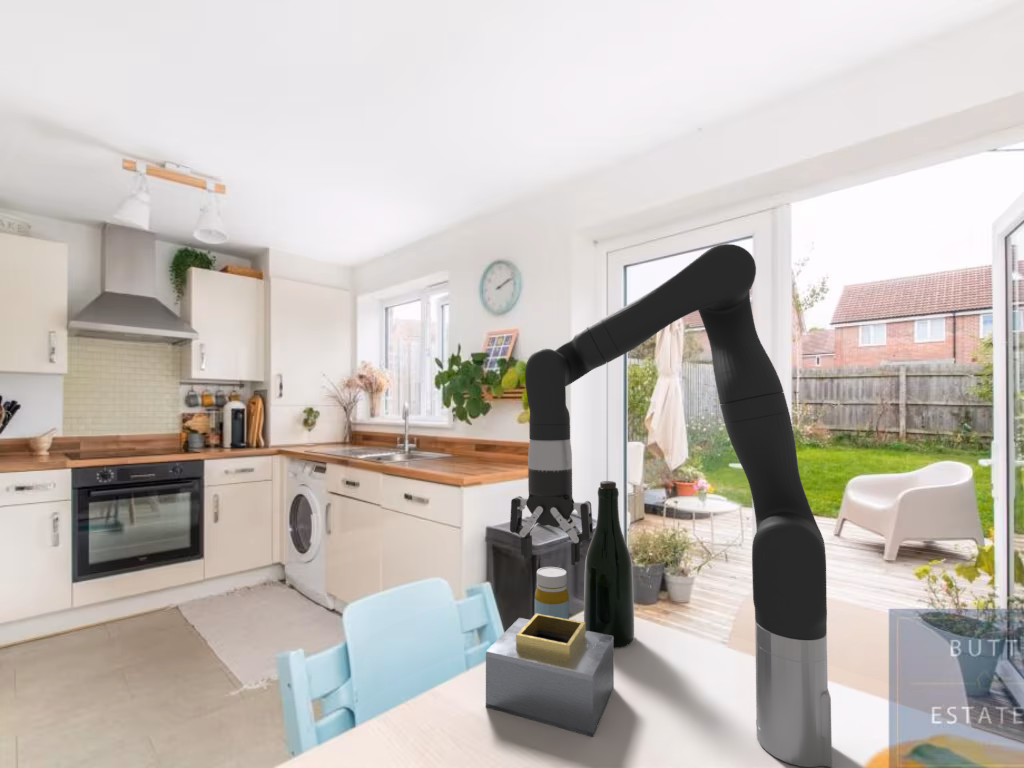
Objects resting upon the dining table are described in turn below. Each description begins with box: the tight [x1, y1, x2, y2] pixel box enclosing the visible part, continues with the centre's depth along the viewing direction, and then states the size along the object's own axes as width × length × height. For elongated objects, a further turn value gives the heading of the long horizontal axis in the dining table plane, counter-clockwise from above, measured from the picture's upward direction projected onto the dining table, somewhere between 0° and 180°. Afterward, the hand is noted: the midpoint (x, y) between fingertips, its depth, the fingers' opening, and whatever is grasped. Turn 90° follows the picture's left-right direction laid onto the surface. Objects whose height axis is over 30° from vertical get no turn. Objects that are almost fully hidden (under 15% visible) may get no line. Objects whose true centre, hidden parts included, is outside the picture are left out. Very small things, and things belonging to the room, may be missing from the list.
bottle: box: [534, 566, 570, 619], centre depth 103 cm, size 7×7×15 cm
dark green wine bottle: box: [583, 480, 635, 649], centre depth 107 cm, size 10×10×33 cm
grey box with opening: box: [485, 613, 615, 738], centre depth 85 cm, size 18×14×12 cm
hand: (551, 561), depth 86 cm, fingers open, 8 cm apart
